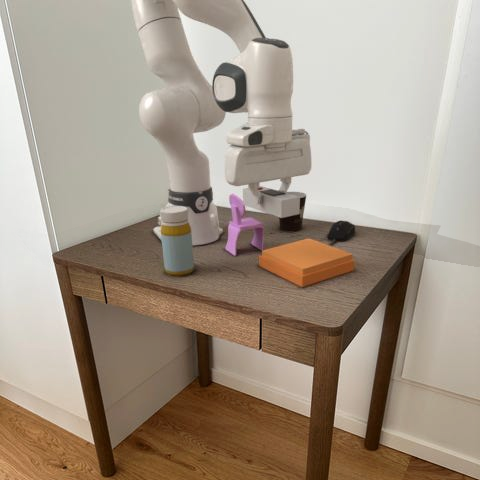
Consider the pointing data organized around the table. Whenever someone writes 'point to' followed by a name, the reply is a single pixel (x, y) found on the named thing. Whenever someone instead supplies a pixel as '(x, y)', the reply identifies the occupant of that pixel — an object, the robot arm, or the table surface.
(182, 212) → the bottle
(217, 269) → the table surface
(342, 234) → the gaming mouse
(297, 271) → the folded cloth
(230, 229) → the toy chair
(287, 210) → the remote
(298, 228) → the black cup
